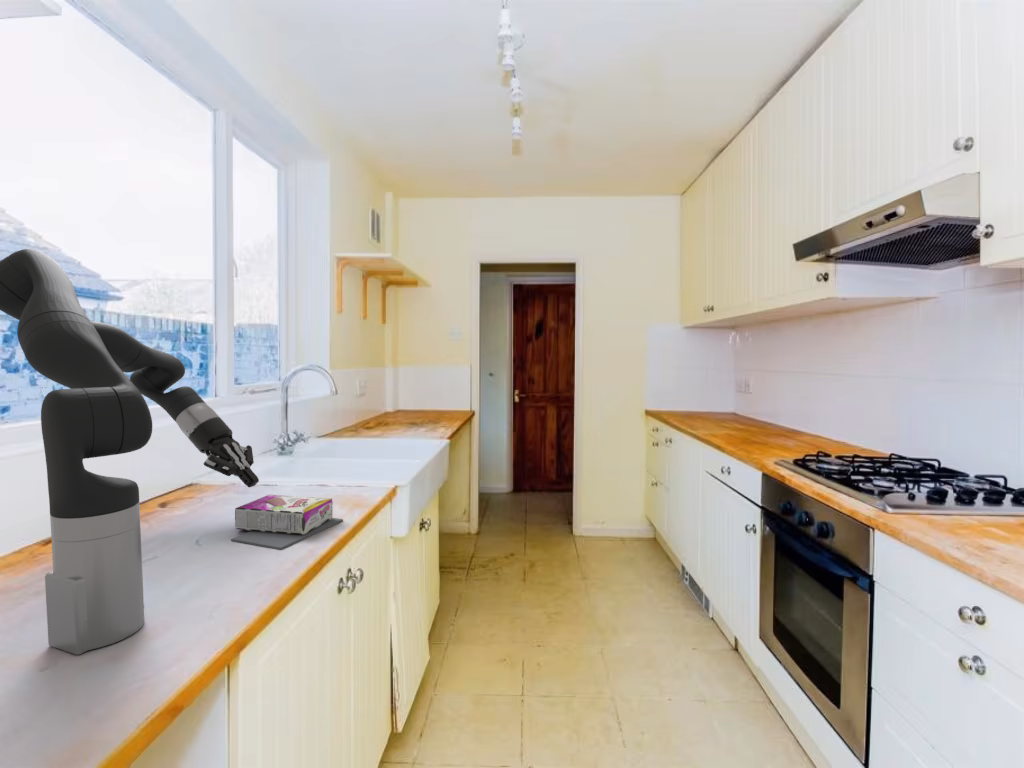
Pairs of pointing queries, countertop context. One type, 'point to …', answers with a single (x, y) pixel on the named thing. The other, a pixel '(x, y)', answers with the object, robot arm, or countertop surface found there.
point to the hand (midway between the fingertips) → (254, 484)
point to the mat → (280, 536)
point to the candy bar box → (283, 514)
